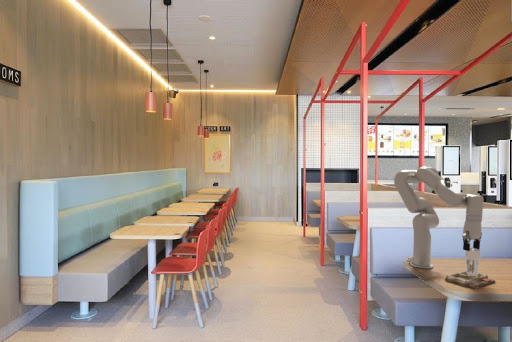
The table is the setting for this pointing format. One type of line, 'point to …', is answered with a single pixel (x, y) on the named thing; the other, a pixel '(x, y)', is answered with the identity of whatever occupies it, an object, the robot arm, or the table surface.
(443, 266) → the table surface
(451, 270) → the table surface
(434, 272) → the table surface
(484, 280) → the divided sorting tray
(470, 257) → the silver piece
